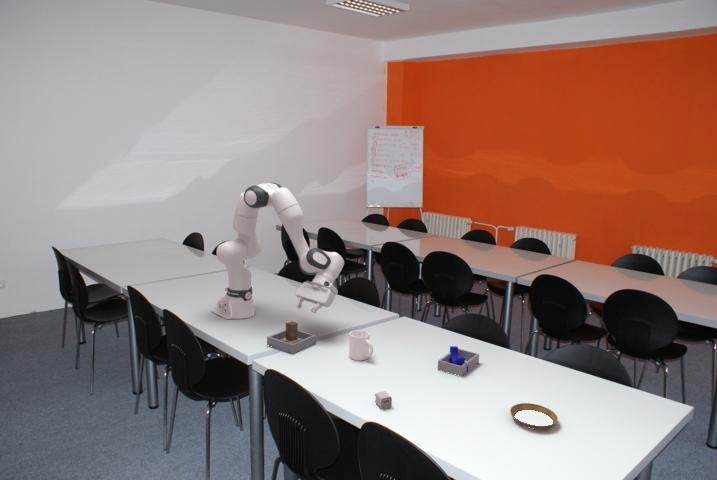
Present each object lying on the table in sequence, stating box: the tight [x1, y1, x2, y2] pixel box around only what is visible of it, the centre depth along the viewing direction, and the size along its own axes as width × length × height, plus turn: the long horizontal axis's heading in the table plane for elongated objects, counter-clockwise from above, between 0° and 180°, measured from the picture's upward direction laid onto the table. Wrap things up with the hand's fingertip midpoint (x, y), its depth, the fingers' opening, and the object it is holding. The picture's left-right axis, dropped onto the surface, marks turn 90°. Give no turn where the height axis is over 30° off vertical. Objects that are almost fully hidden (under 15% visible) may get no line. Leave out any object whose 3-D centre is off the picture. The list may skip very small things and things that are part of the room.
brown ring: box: [509, 402, 558, 430], centre depth 176 cm, size 15×15×3 cm
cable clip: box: [449, 345, 469, 373], centre depth 216 cm, size 12×4×6 cm, turn 5°
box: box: [266, 329, 317, 355], centre depth 234 cm, size 15×15×4 cm
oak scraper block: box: [282, 320, 301, 344], centre depth 234 cm, size 6×6×9 cm
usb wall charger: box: [374, 391, 393, 410], centre depth 184 cm, size 4×7×4 cm, turn 23°
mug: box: [348, 329, 374, 362], centre depth 221 cm, size 12×8×10 cm
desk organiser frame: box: [437, 348, 480, 377], centre depth 216 cm, size 10×17×4 cm, turn 144°
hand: (305, 309), depth 239 cm, fingers open, 8 cm apart
